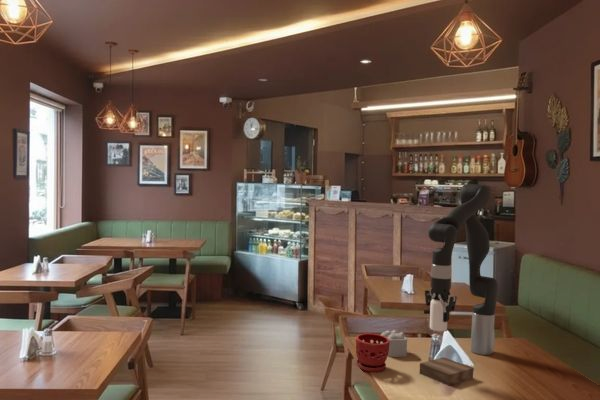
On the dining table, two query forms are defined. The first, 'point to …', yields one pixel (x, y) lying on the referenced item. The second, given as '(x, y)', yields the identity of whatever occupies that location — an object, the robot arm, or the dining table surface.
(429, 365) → the walnut stand
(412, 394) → the dining table surface
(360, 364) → the plant pot
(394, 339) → the lumpy-topped squat cylinder
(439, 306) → the can
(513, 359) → the dining table surface
